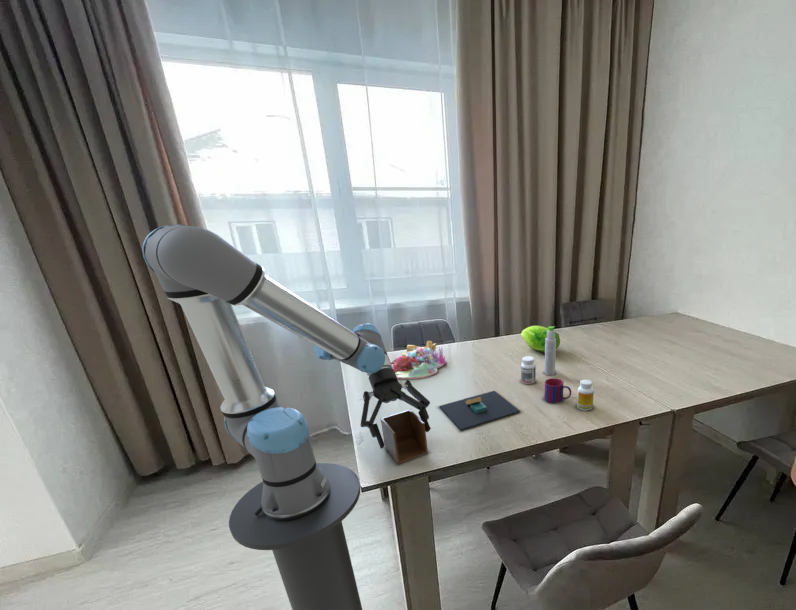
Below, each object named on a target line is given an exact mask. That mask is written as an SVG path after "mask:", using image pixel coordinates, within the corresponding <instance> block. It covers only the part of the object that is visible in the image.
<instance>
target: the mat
mask: <svg viewBox="0 0 796 610" xmlns="http://www.w3.org/2000/svg"><path fill="white" fill-rule="evenodd" d="M478 397H481V400H482V401H481V402H482V403H483V404H484V405H485V406H486V407H487V411H484V412H480V413H476V412H475V411H473V410H472V409H471V408H470V404H469V405H466V402H465V401H468V400H471V399H474V398H478ZM438 407H439V409H440V410H441V411H442V412H443V413H444V414H445V415H446V416H447V418H448V419H449V420H450V421H451V422H452V423H453V424H454V425H455V426H456V427H457V428H458V429H459V431H461V432H462V431H465V430H468V429H471V428H475V427H477V426H480V425H484V424H486V423H491V422H493V421H497V420H500V419H503V418H506V417H509V416H513V415H515V414H519V413H520V412H521V410H520V409H518V408H517V407H516V406H514V405H513V404H512V403H511V402H509V401H508V400H507V399H506V398H504V397H503V396H502V395H500V394H499V393H498V392H496V391H495V390H493V391H489V392H488V391H487V392H485V393H482V394H481V393H480V394H477V395H473V396H470V397H467V398H463V399H460V400H456V401H453V402H449V403H445V404H442V405H439V406H438Z"/></svg>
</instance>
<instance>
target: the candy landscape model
mask: <svg viewBox="0 0 796 610" xmlns="http://www.w3.org/2000/svg"><path fill="white" fill-rule="evenodd" d="M436 349H437V342H435V343H433V341H432V340H427V341H426V344H425V346H418V345H415V344H407V345H406V352H402V353H401V355H399V356H398V357H396V358H395V359H394V360H393V361H391V364H392V369H394V372H395V374H396V377H397V379H398V380H400V379H402V380H413V379H414V380H419V379H423V378H424V379H425V378H429V377H431V376H433V375H436V374H437V373H438V369H439V368H442V367H443V366H444V365H446V358H445V357H446V356H444V352H443V347H438V351H437V350H436Z"/></svg>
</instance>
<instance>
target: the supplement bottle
mask: <svg viewBox="0 0 796 610" xmlns="http://www.w3.org/2000/svg"><path fill="white" fill-rule="evenodd" d="M594 393H595V389H594V387H593V381H592V380H591V379H581V380H580V382H579V386H578V388H577V394H576V395H577V396H576V397H577V398H576V408H577V409H579V410H580V411H590V410H592V409H593V405H594Z"/></svg>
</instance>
